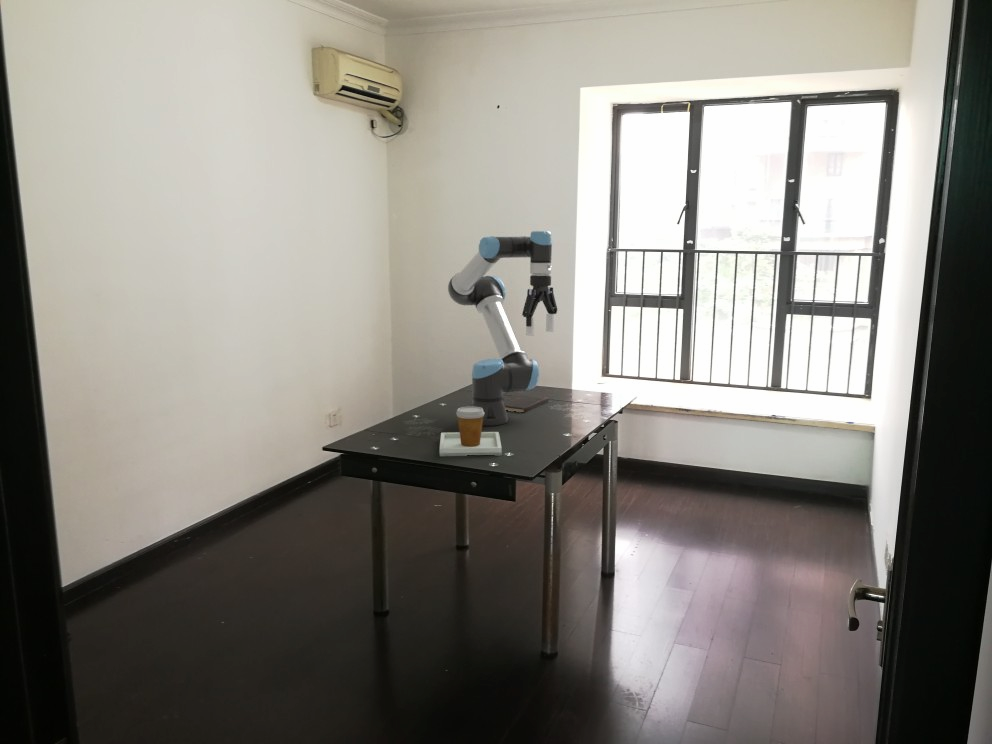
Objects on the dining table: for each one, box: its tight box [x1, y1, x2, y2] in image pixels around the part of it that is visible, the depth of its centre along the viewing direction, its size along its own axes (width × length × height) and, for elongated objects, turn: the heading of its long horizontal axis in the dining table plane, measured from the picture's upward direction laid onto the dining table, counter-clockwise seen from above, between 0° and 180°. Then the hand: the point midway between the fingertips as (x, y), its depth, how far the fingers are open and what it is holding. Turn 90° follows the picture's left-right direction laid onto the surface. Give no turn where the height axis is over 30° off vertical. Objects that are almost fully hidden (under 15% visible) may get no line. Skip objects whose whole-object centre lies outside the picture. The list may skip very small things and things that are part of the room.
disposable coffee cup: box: [455, 405, 485, 447], centre depth 251 cm, size 10×10×12 cm
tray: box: [439, 431, 503, 457], centre depth 252 cm, size 20×20×2 cm
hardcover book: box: [503, 394, 549, 413], centre depth 314 cm, size 16×23×2 cm
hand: (540, 333), depth 273 cm, fingers open, 13 cm apart
